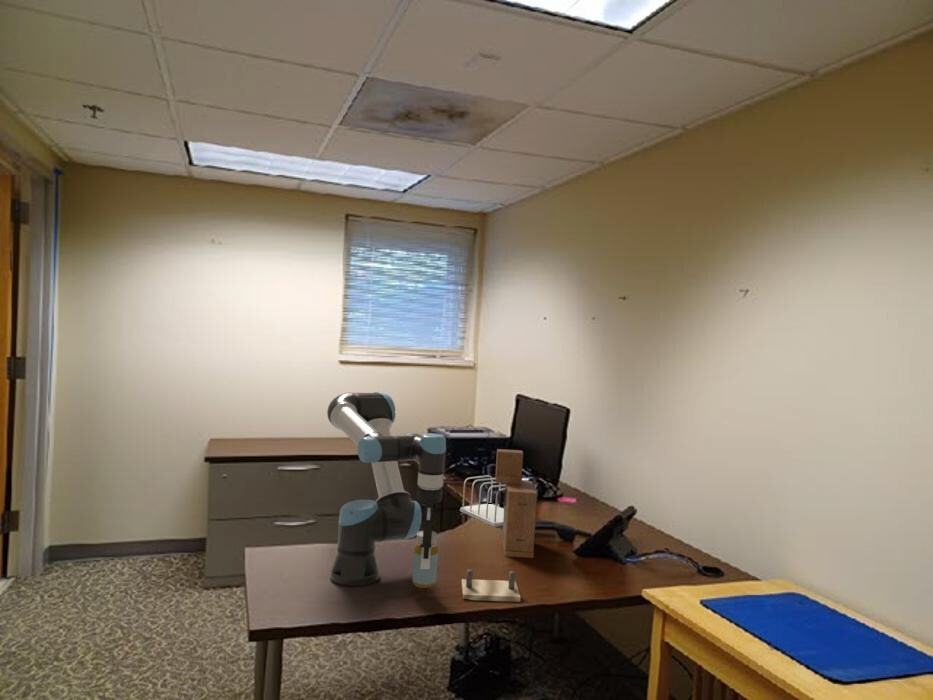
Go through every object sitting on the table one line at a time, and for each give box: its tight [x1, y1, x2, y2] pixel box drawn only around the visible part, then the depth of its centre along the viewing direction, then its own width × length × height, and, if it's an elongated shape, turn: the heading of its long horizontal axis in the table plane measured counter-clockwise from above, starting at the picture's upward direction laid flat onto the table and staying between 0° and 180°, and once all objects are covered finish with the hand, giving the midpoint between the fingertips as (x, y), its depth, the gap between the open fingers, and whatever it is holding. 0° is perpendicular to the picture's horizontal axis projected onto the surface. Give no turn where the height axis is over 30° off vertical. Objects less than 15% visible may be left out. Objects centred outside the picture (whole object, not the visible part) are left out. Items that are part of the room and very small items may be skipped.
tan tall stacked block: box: [494, 448, 538, 559], centre depth 236 cm, size 19×14×35 cm
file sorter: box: [459, 474, 505, 528], centre depth 276 cm, size 25×17×16 cm
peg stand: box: [460, 568, 522, 603], centre depth 193 cm, size 17×12×6 cm
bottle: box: [411, 530, 439, 589], centre depth 188 cm, size 7×7×15 cm
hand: (425, 563), depth 188 cm, fingers closed on bottle, 7 cm apart
